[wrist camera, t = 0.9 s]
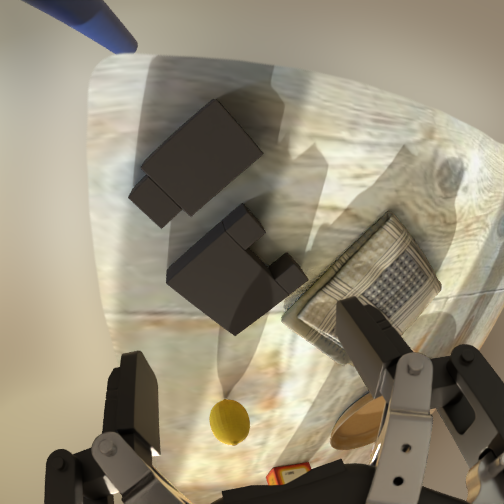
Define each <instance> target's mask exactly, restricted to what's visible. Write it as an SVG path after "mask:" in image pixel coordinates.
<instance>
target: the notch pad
mask: <svg viewBox="0 0 504 504" xmlns="http://www.w3.org/2000/svg"><path fill="white" fill-rule="evenodd" d="M265 233H266V231H265V230H264V228H263V226H262V225H261V223H260V222H259V220H258V219H257V218H256V217H255V216H254V215H253V214H252V213H251V212H250V211H249V210H248V208H247V207H246V206H245V205H244V204H243V203H242V204H241V205H239V206H238V207H237V208H236V209H235V210H234V211H232V212H231V213H230V214H229V215H228V216H227V217H225V218H224V219H223V220H222V221H221V222H220V223H219V224H217V225H216V226H215V227H214V228H213V229H212V230H211V231H209V232H208V233H207V234H206V235H205V236H204V237H203V238H202V239H200V240H199V241H198V242H197V243H196V244H195V245H194V246H193V247H191V248H190V249H189V250H188V251H187V252H186V253H185V254H184V255H182V256H181V257H180V258H179V259H178V260H177V261H176V262H175V263H174V264H173V265H171V266H170V267H169V268H168V269H167V274H166V284H168V285H169V286H170V287H171V288H173V289H174V290H175V291H176V292H178V293H179V294H180V295H181V296H183V297H184V298H185V299H186V300H188V301H189V302H190V303H192V304H193V305H194V306H195V307H197V308H198V309H199V310H201V311H202V312H203V313H205V314H206V315H207V316H209V317H210V318H211V319H213V320H214V321H215V322H217V323H218V324H219V325H221V326H222V327H223V328H225V329H226V330H227V331H229V332H230V333H231V334H233V335H234V336H236V335H237V334H239V333H240V332H241V331H243V330H244V329H245V328H247V327H248V326H249V325H251V324H252V323H253V322H255V321H256V320H257V319H259V318H260V317H261V316H263V315H264V314H265V313H267V312H268V311H269V310H271V309H272V308H273V307H274V306H276V305H277V304H278V303H280V302H281V301H282V300H283V299H285V298H286V297H287V296H289V294H291V293H292V292H294V291H295V290H296V289H298V288H299V287H300V286H301V285H303V284H304V283H305V282H306V281H308V278H307V276H306V275H305V273H304V272H303V270H302V269H301V267H300V266H299V265H298V264H297V263H296V262H295V261H294V259H293V258H292V257H291V256H290V255H289V254H288V253H285V254H284V255H283V256H282V257H280V258H279V259H278V260H277V261H276V262H274V263H273V264H272V265H271V266H269V267H268V266H267V265H266V264H265V263H264V262H263V261H262V260H261V259H260V258H259V257H258V256H257V255H256V254H255V253H254V252H253V251H252V250H251V249H250V248H249V246H251V245H252V244H253V243H254V242H255V241H257V240H258V239H259V238H260V237H261V236H263V235H264V234H265Z"/></svg>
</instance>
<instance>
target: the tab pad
mask: <svg viewBox="0 0 504 504" xmlns="http://www.w3.org/2000/svg"><path fill="white" fill-rule="evenodd" d="M262 155H263V152H262V151H261V150H260V149H259V148H258V146H257V145H256V144H255V143H254V142H253V140H252V139H251V138H250V137H249V136H248V134H247V133H246V132H245V131H244V130H243V129H242V127H241V126H240V125H239V124H238V123H237V122H236V121H235V119H234V118H233V117H232V116H231V115H230V114H229V112H228V111H227V110H226V109H225V108H224V107H223V106H222V105H221V103H220V102H219V101H218V100H217V99H213V100H211V101H210V102H209V103H208V104H206V105H205V106H204V107H203V108H202V109H201V110H199V111H198V112H197V113H196V114H195V115H194V116H192V117H191V118H190V119H189V120H188V121H187V122H186V123H184V124H183V125H182V126H181V127H180V128H179V129H178V130H177V131H176V132H174V133H173V134H172V135H171V136H170V137H169V138H168V139H167V140H166V141H165V142H164V143H163V144H162V145H160V146H159V147H158V148H157V149H156V150H155V151H154V152H153V153H152V154H151V155H150V156H149V157H148V158H147V159H146V160H145V161H144V163H143V164H142V166H141V169H142V170H143V171H144V172H145V173H146V174H147V175H146V176H145V177H144V178H143V179H142V180H141V181H140V182H139V183H138V184H137V185H136V186H135V187H134V188H133V189H132V191H131V193H130V195H129V197H128V198H129V199H130V200H131V201H132V202H133V203H134V204H135V205H136V206H137V207H138V208H139V209H141V210H142V211H143V212H144V213H145V214H146V215H147V216H148V217H149V218H150V219H151V220H152V221H153V222H155V223H156V224H157V225H158V226H159V227H160V228H161V229H162V228H163V227H164V226H165V225H166V224H167V223H168V222H169V221H171V220H172V219H173V218H174V217H175V216H176V215H177V214H178V213H179V212H180V211H181V210H182V209H183V210H184V211H185V212H186V213H187V214H188V215H189V216H190V217H191V216H193V215H194V214H195V213H196V212H197V211H198V210H199V209H200V208H201V207H203V206H204V205H205V204H206V203H207V202H208V201H209V200H210V199H212V198H213V197H214V196H215V195H216V194H217V193H218V192H220V191H221V190H222V189H223V188H224V187H225V186H226V185H228V184H229V183H230V182H231V181H232V180H233V179H235V178H236V177H237V176H238V175H239V174H240V173H242V172H243V171H244V170H245V169H246V168H247V167H249V166H250V165H251V164H252V163H253V162H255V161H256V160H257V159H258V158H259V157H261V156H262Z"/></svg>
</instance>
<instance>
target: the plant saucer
mask: <svg viewBox="0 0 504 504" xmlns="http://www.w3.org/2000/svg"><path fill="white" fill-rule="evenodd" d="M385 402H386V401H385V399H384V398H383V396H381V397H378V398H376V399H373V397H372V395H371V393H368V394H366V395H365V396H363V397H362V398H361V399H359V400H358V401H357V402H355V403H354V404H353V405H352V406H351V407H350V408H348V409H347V410H346V411H345V412H344V414H343V415H342V416H341V417H340V418H339V420H338V421H337V423H336V424H335V426H334V428H333V430H332V433H331V438H330V444H331V446H332V447H333V448H335V449H338V450H350V449H355V448H359V447H362V446H365V445H368V444H370V443H373V442H375V441H376V439H377V435H378V431H379V427H380V423H381V419H382V414H383V410H384V405H385Z"/></svg>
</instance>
